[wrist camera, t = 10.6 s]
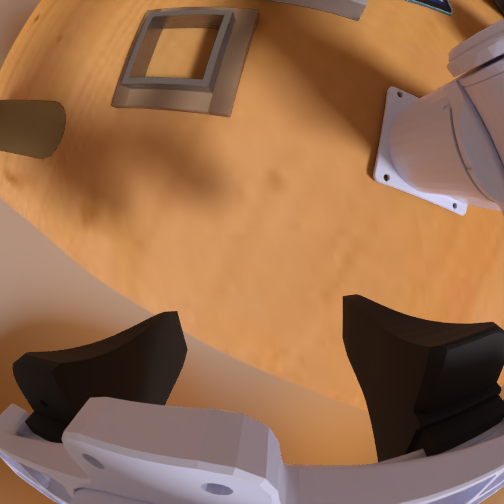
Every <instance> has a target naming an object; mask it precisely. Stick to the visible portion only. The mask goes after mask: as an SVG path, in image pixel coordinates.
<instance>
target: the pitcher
mask: <svg viewBox="0 0 504 504" xmlns="http://www.w3.org/2000/svg"><path fill="white" fill-rule="evenodd" d="M494 2H495V3H496V5H497V7H498V8H499V10H500V11H501V12H502V13H503V15H504V0H494Z"/></svg>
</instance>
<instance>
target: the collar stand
mask: <svg viewBox="0 0 504 504" xmlns="http://www.w3.org/2000/svg"><path fill="white" fill-rule="evenodd" d="M258 18H259V10H255V9H244V8H230V7H179V8H165V9H155V10H147V12H146V14H145V16H144V18H143V20H142V23H141V25H140V27H139V29H138V31H137V34H136V36H135V38H134V41H133V43H132V46H131V48H130V51H129V53H128V56H127V59H126V61H125V64H124V67H123V70H122V73H121V76H120V79H119V82H118V85H117V88H116V91H115V95H114V98H113V101H112V105H111V106H112V107H115V108H139V109H158V110H172V111H183V112H192V113H201V114H209V115H216V116H223V117H230V116H231V112H232V108H233V104H234V100H235V96H236V93H237V89H238V85H239V82H240V78H241V74H242V71H243V67H244V64H245V60H246V57H247V53H248V50H249V47H250V43H251V40H252V37H253V33H254V30H255V27H256V24H257V21H258ZM166 28H218V29H219V32H218V34H217V37H216V40H215V43H214V46H213V49H212V52H211V55H210V58H209V61H208V64H207V68H206V71H205V74H204V77H203V80H202V79H188V78H163V77H145V75H146V72H147V69H148V66H149V63H150V60H151V57H152V55H153V52H154V49H155V47H156V44H157V41H158V39H159V36H160V34H161V32H162V29H166Z"/></svg>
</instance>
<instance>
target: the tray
mask: <svg viewBox="0 0 504 504" xmlns="http://www.w3.org/2000/svg"><path fill="white" fill-rule="evenodd" d="M268 1H276V2H282V3H289V4H294V5H299V6H304V7H309V8H313V9H318V10H322V11H326V12H330V13H333V14H337V15H340V16H344V17H347V18H350V19H353V20H356V21H358V20H359V19H360V17H361V15H362V13H363V11H364V9H365V7H366V1H367V0H268Z"/></svg>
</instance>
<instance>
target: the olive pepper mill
mask: <svg viewBox="0 0 504 504" xmlns="http://www.w3.org/2000/svg"><path fill="white" fill-rule="evenodd" d="M65 124H66V115H65V111H64V108H63V106H62V105H61V104H60V103H58V102H56V101H39V100H0V151H5V152H10V153H15V154H20V155H25V156H29V157H34V158H39V159H44V158H46V157H48V156H50V155H51V154H52V153H53V152H54V151H55V150H56V148H57V146H58V145H59V143H60V141H61V138H62V136H63V133H64V129H65Z"/></svg>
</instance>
